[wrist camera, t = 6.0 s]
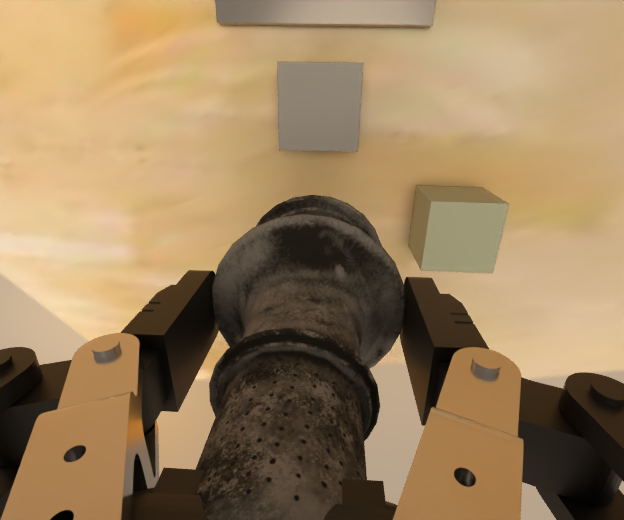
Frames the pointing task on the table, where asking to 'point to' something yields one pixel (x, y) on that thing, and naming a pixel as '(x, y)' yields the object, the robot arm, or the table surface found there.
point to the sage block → (456, 228)
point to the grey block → (319, 105)
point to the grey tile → (327, 13)
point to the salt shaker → (297, 361)
